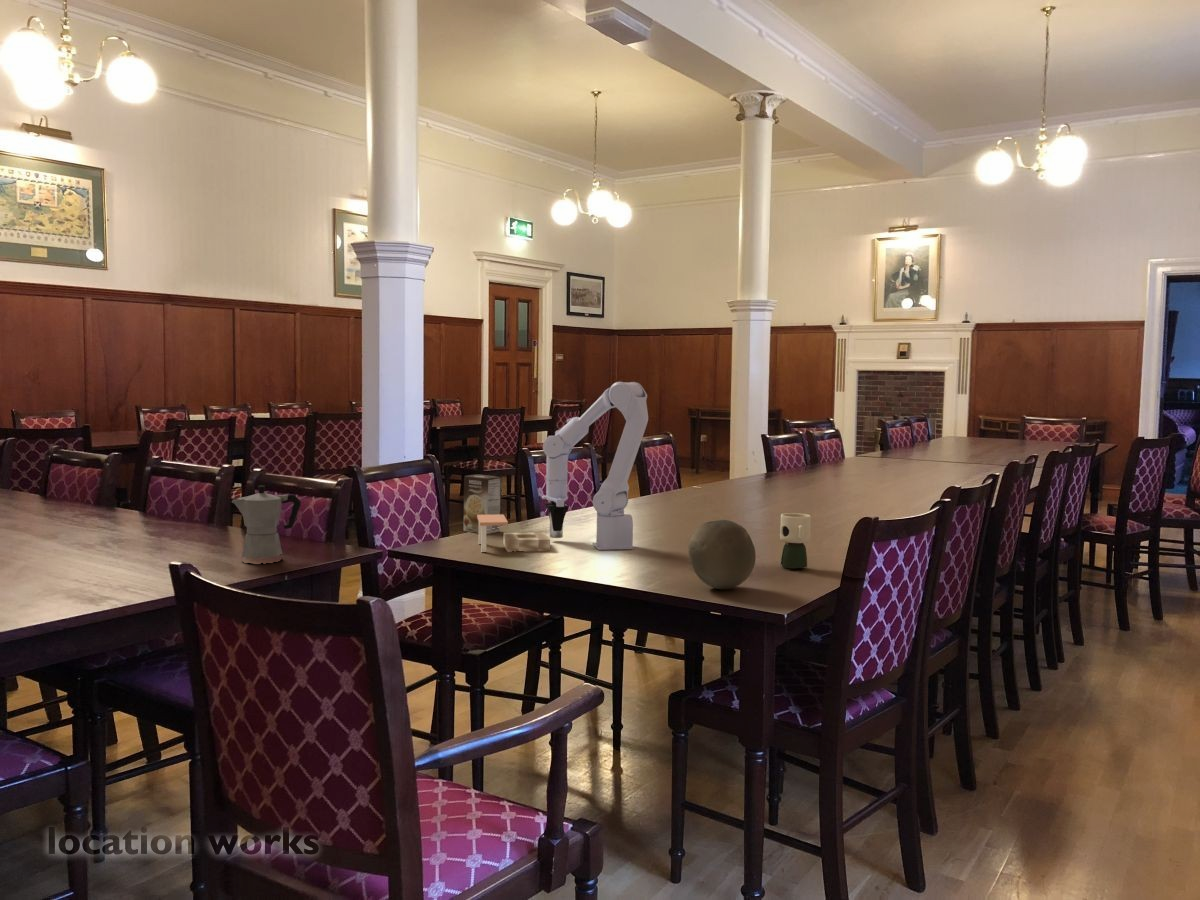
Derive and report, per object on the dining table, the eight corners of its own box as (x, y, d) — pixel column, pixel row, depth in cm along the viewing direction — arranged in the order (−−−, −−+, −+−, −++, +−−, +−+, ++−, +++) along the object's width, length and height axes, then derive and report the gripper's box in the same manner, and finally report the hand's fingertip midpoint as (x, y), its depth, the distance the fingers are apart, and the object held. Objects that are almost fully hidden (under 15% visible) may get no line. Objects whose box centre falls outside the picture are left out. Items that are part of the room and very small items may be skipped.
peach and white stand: (503, 543, 244) (503, 514, 244) (507, 552, 232) (507, 522, 231) (476, 543, 243) (477, 514, 242) (479, 553, 230) (480, 522, 230)
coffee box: (462, 531, 262) (462, 475, 261) (476, 528, 268) (477, 473, 267) (486, 534, 258) (487, 478, 256) (501, 531, 263) (501, 476, 262)
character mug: (773, 563, 224) (775, 511, 223) (802, 564, 225) (803, 511, 224) (785, 573, 213) (787, 518, 212) (815, 573, 214) (817, 518, 213)
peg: (561, 535, 251) (562, 506, 250) (563, 537, 247) (564, 508, 247) (548, 535, 250) (549, 507, 249) (550, 538, 246) (550, 508, 246)
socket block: (544, 543, 246) (544, 532, 245) (549, 551, 235) (550, 539, 235) (503, 543, 243) (503, 532, 243) (507, 551, 233) (507, 540, 232)
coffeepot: (233, 566, 209) (232, 488, 207) (231, 558, 217) (230, 483, 216) (303, 562, 215) (303, 486, 214) (298, 554, 224) (298, 482, 222)
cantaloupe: (694, 580, 204) (696, 514, 203) (758, 585, 200) (760, 518, 199) (681, 594, 190) (683, 523, 189) (749, 600, 186) (752, 527, 185)
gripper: (538, 477, 254) (538, 525, 255) (545, 483, 239) (545, 534, 241) (563, 477, 255) (563, 525, 256) (572, 482, 241) (571, 533, 242)
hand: (556, 529), depth 248 cm, fingers closed on peg, 4 cm apart
